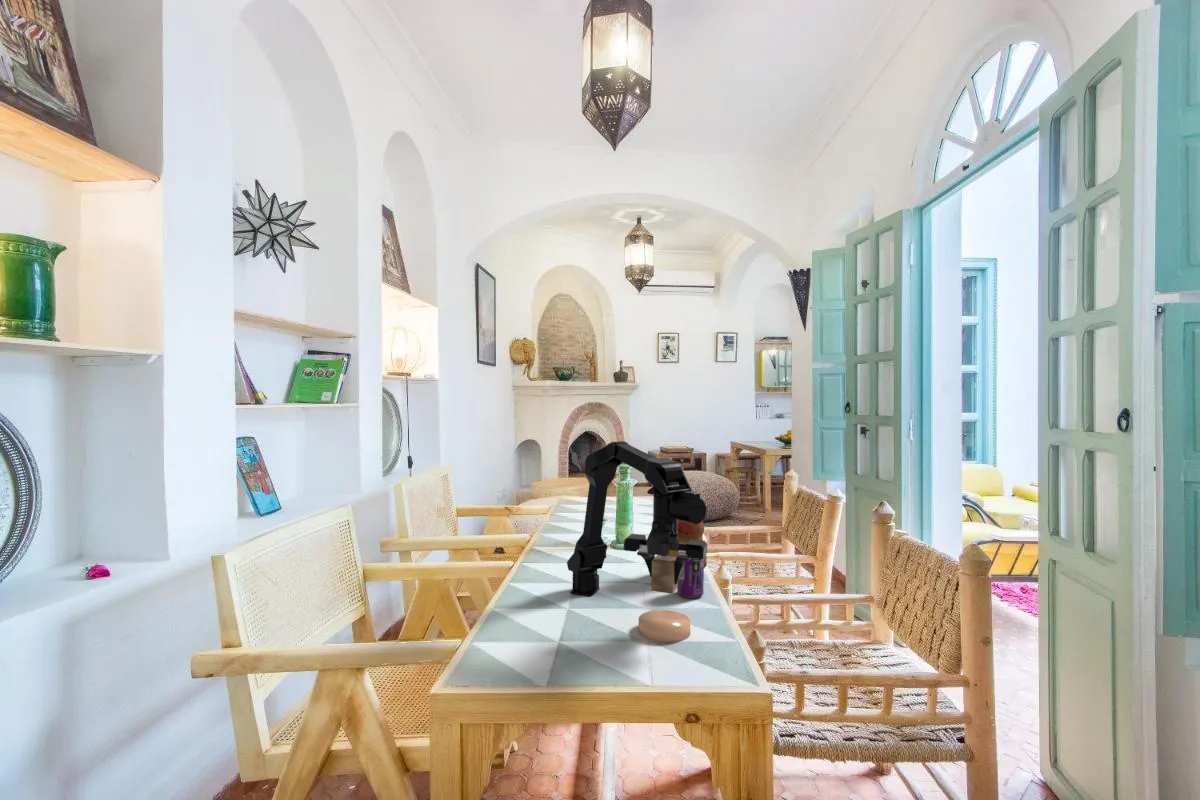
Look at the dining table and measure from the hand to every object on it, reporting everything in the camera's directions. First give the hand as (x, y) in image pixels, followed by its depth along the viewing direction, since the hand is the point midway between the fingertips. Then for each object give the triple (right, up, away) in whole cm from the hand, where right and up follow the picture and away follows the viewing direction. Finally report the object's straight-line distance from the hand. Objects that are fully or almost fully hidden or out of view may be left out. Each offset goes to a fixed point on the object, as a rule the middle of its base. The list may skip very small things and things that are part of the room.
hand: (664, 582), depth 134 cm
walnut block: (0, -2, 0) cm, 2 cm away
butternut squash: (+10, -11, +39) cm, 42 cm away
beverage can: (+10, -11, +24) cm, 28 cm away
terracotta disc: (0, -12, 0) cm, 12 cm away
